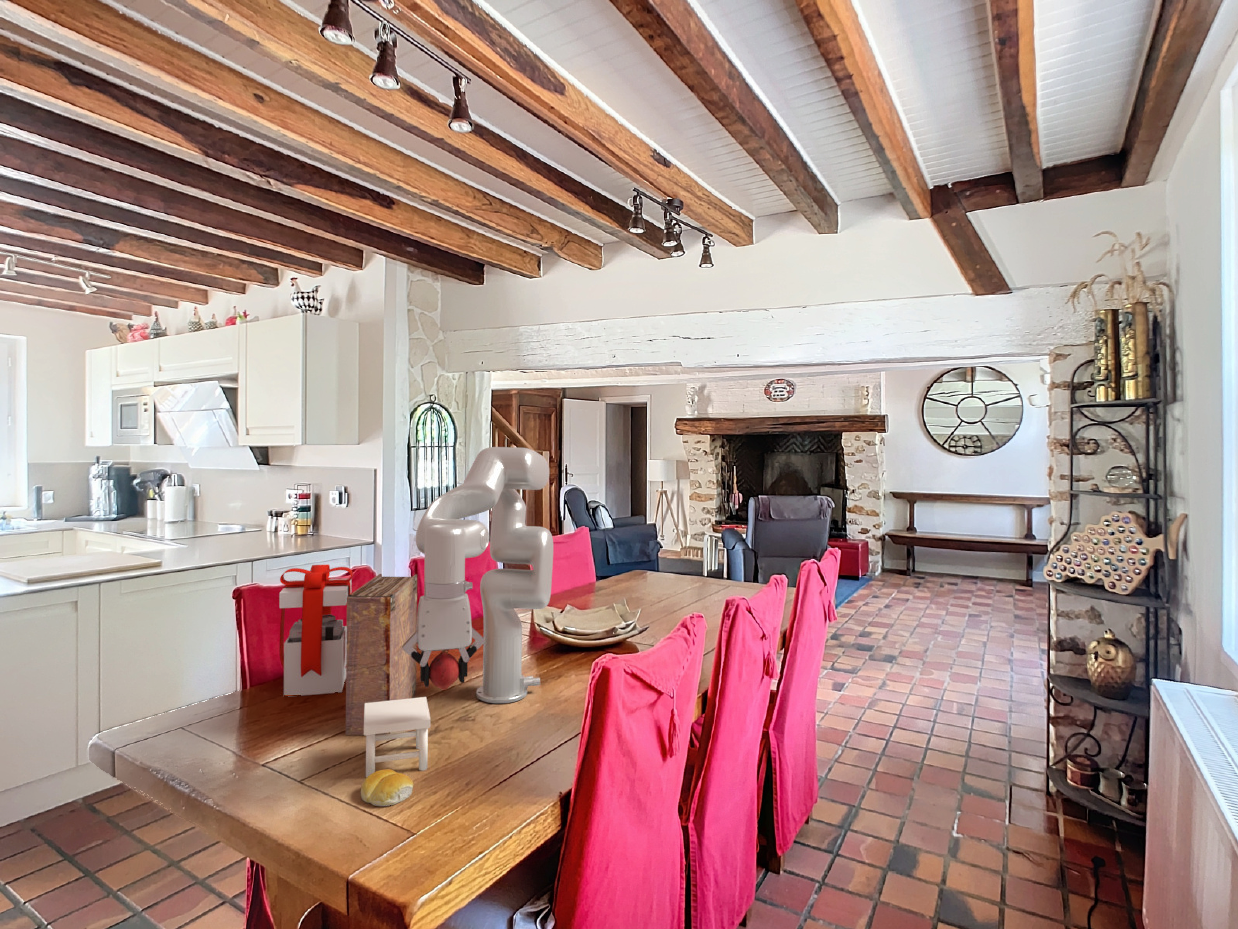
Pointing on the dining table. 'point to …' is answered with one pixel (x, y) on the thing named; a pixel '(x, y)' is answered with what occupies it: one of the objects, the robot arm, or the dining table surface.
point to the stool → (396, 728)
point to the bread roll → (386, 788)
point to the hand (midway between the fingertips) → (443, 681)
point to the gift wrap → (314, 632)
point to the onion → (444, 670)
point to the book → (379, 645)
